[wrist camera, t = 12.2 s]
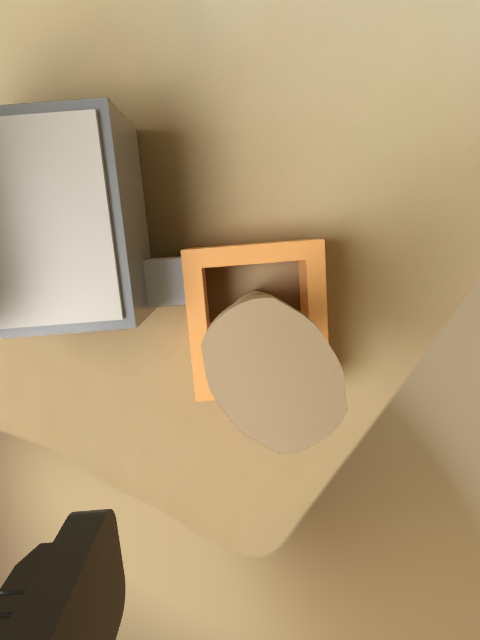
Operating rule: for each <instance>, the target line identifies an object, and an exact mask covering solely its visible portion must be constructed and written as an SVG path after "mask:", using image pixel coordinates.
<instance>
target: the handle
mask: <svg viewBox="0 0 480 640" xmlns="http://www.w3.org/2000/svg"><path fill="white" fill-rule="evenodd" d="M201 349H202V355H203V362H204V368H205V373H206V379H207V382H208V385H209V389H210V391H211V393H212V395H213V397H214V398H215V400H216V402H217V403H218V405H219V406H220V407H221V409H222V410H223V412H224V413H225V414H226V416H227V417H228V418H229V420H230V421H231V422H232V424H233V425H234V426H235V427H236V428H237V429H238V430H239V431H240V432H241V433H243V434H244V435H245V436H247V437H248V438H250V439H252V440H253V441H255V442H257V443H259V444H261V445H262V446H264V447H266V448H268V449H270V450H272V451H274V452H276V453H278V454H288V453H295V452H299V451H302V450H305V449H308V448H310V447H312V446H314V445H316V444H318V443H320V442H321V441H322V440H324V439H325V438H327V437H328V436H329V435H330V434H331V433H332V432H334V431H335V430H336V429H337V428H338V426H339V425H340V423H341V422H342V420H343V419H344V417H345V415H346V413H347V410H348V409H347V398H346V388H345V380H344V375H343V371H342V367H341V364H340V362H339V360H338V358H337V356H336V354H335V353H334V351H333V350H332V348H331V347H330V345H329V344H328V342H327V341H326V339H325V337H324V336H323V334H322V333H321V332H320V330H319V329H318V327H317V326H316V325H315V324H314V323H313V322H312V321H311V319H309V318H308V317H306V316H305V315H304V314H302V313H301V312H299V311H298V310H296V309H295V308H293V307H291V306H290V305H288V304H286V303H285V302H283V301H281V300H279V299H278V298H276V297H274V296H272V295H270V294H268V293H265V292H259V291H257V290H253V291H250V292H249V293H247V294H245V295H243V296H242V297H240V298H239V299H238V300H237V301H236V302H235V303H234V304H232V305H231V306H229V307H228V308H226V309H225V310H224V311H223V312H221V313H220V314H219V315H218V316H217V317H216V318H215V319H214V321H213V322H212V323H211V324H210V326H209V328H208V329H207V331H206V333H205V336H204V338H203V341H202V344H201Z"/></svg>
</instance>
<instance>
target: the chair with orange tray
mask: <svg viewBox="0 0 480 640" xmlns="http://www.w3.org/2000/svg"><path fill="white" fill-rule="evenodd" d="M180 251H181V256H175V257H162V258H151V253H150V244H149V235H148V227H147V218H146V209H145V200H144V192H143V183H142V174H141V166H140V157H139V148H138V140H137V131H136V129H135V127H134V126H133V125H132V124H131V123H130V122H129V121H128V120H127V119H126V118H125V116H124V115H123V114H122V113H121V112H120V111H119V110H118V109H117V108H116V106H115V105H114V104H113V103H112V102H111V101H110V100H109V99H108V98H107V97H103V98H89V99H76V100H63V101H49V102H36V103H23V104H9V105H0V339H5V338H17V337H30V336H43V335H55V334H68V333H81V332H94V331H106V330H119V329H132V328H137V327H138V326H139V325H140V324H141V323H142V322H143V321H144V320H145V319H146V318H147V317H148V316H149V315H150V314H151V313H152V312H153V311H154V310H155V309H156V308H157V307H161V306H174V305H186V311H187V320H188V330H189V340H190V350H191V360H192V370H193V380H194V389H195V399H196V402H199V401H212V400H215V398H214V397H213V395H212V393H211V391H210V389H209V385H208V382H207V379H206V373H205V368H204V362H203V355H202V349H201V344H202V341H203V338H204V336H205V333H206V331H207V329H208V328H209V326H210V317H209V306H208V295H207V284H206V274H205V268H209V267H222V266H235V265H248V264H261V263H273V262H286V261H298V270H299V291H300V311H301V313H302V314H304V315H305V316H306V317H308V318H309V319H311V321H312V322H313V323H314V324H315V325H316V326H317V327H318V329H319V330H320V332H321V333H322V334H323V336H324V337H325V339H326V341H327V342H328V316H327V289H326V262H325V239H315V238H314V239H301V240H288V241H275V242H262V243H249V244H236V245H223V246H210V247H197V248H186V249H183V250H180ZM328 344H329V343H328Z"/></svg>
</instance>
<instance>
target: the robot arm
mask: <svg viewBox="0 0 480 640" xmlns="http://www.w3.org/2000/svg"><path fill="white" fill-rule="evenodd" d="M124 602H125V575H124V569H123V563H122V555H121V548H120V542H119V536H118V529H117V522H116V516H115V513H114V511H113V510H112V509H104V510H92V511H79V512H72V513H71V514H69V516H68V517H67V519H66V520H65V522H64V524H63V526H62V527H61V529H60V531H59V533H58V535H57V536H56V538H55V540H54V541H53V543H41V544H39V545H38V546H37V547H36V548H35V549H34V550H32V551H31V552H30V553H29V554H28V555H27V556H26V557H25V558H23V559H22V560H21V561H20V562H19V563H18V564H17V565H15V567H14V568H13V570H12V572H11V573H10V575H9V576H8V578H7V579H6V581H5V582H4V584H3V586H2V587H1V589H0V640H116V637H117V633H118V630H119V626H120V623H121V619H122V615H123V610H124Z"/></svg>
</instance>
